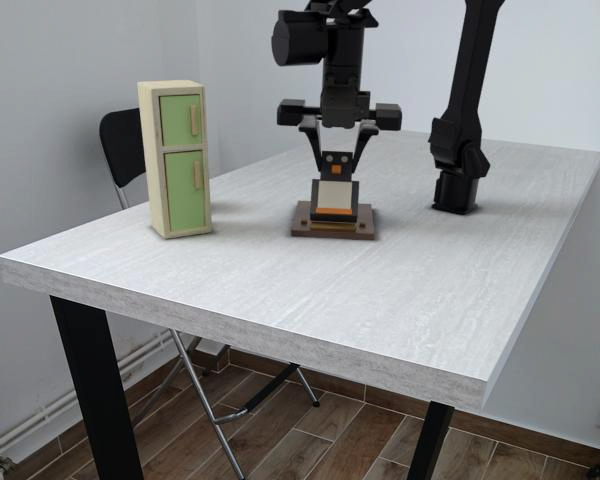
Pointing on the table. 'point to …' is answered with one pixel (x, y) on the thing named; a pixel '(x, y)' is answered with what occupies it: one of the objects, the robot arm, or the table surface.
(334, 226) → the stand
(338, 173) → the penguin
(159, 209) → the toy refrigerator
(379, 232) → the table surface
